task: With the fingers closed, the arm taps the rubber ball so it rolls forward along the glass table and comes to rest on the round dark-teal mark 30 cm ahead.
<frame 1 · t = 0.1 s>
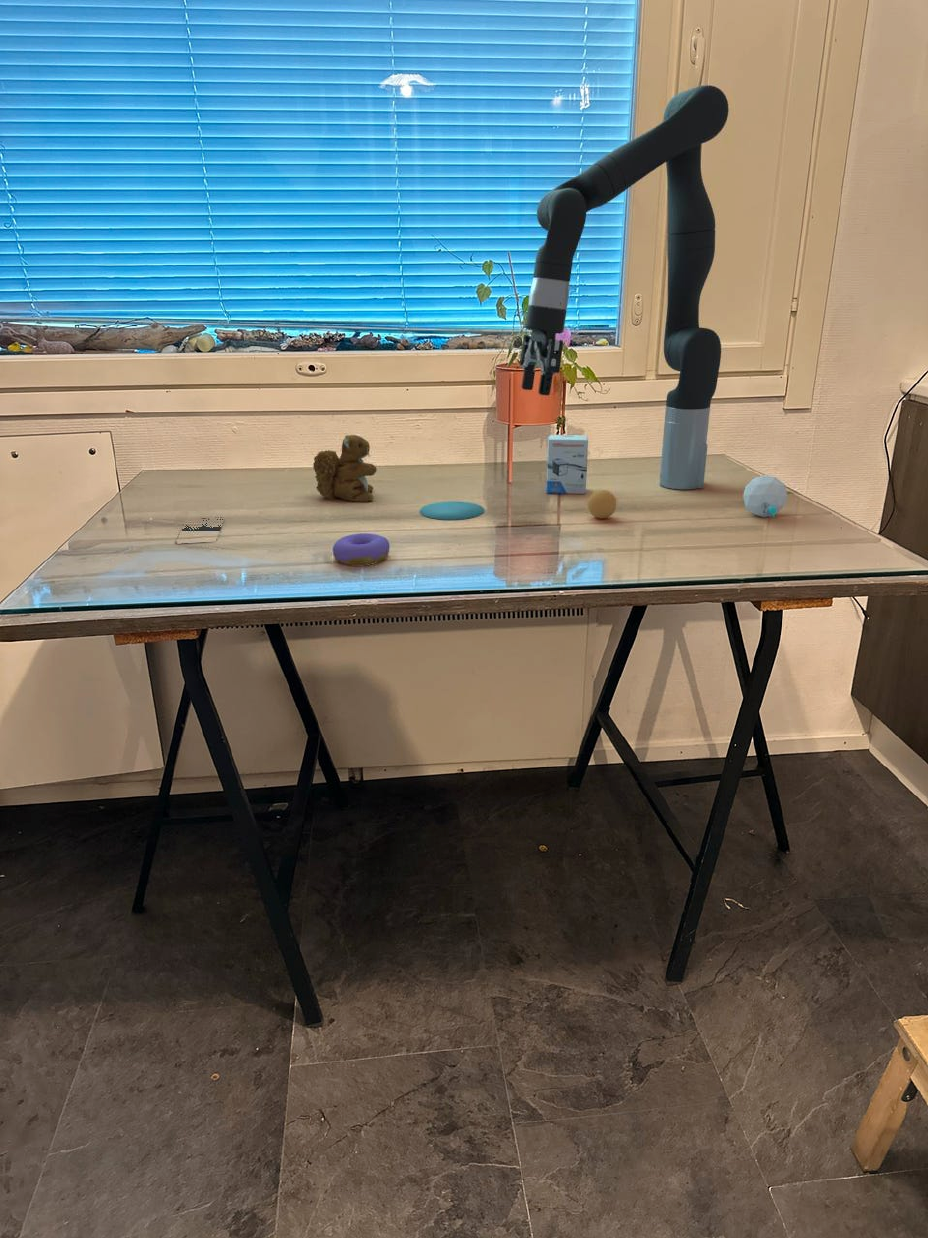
hand: (535, 392, 162), 22 cm above the table, fingers open, 8 cm apart
stuffed squirrel: (346, 497, 177), on the table
ink box: (565, 491, 178), on the table
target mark: (451, 510, 165), on the table
donut: (362, 560, 139), on the table
phone: (201, 534, 155), on the table
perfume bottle: (763, 519, 157), on the table
ball: (602, 504, 158), on the table
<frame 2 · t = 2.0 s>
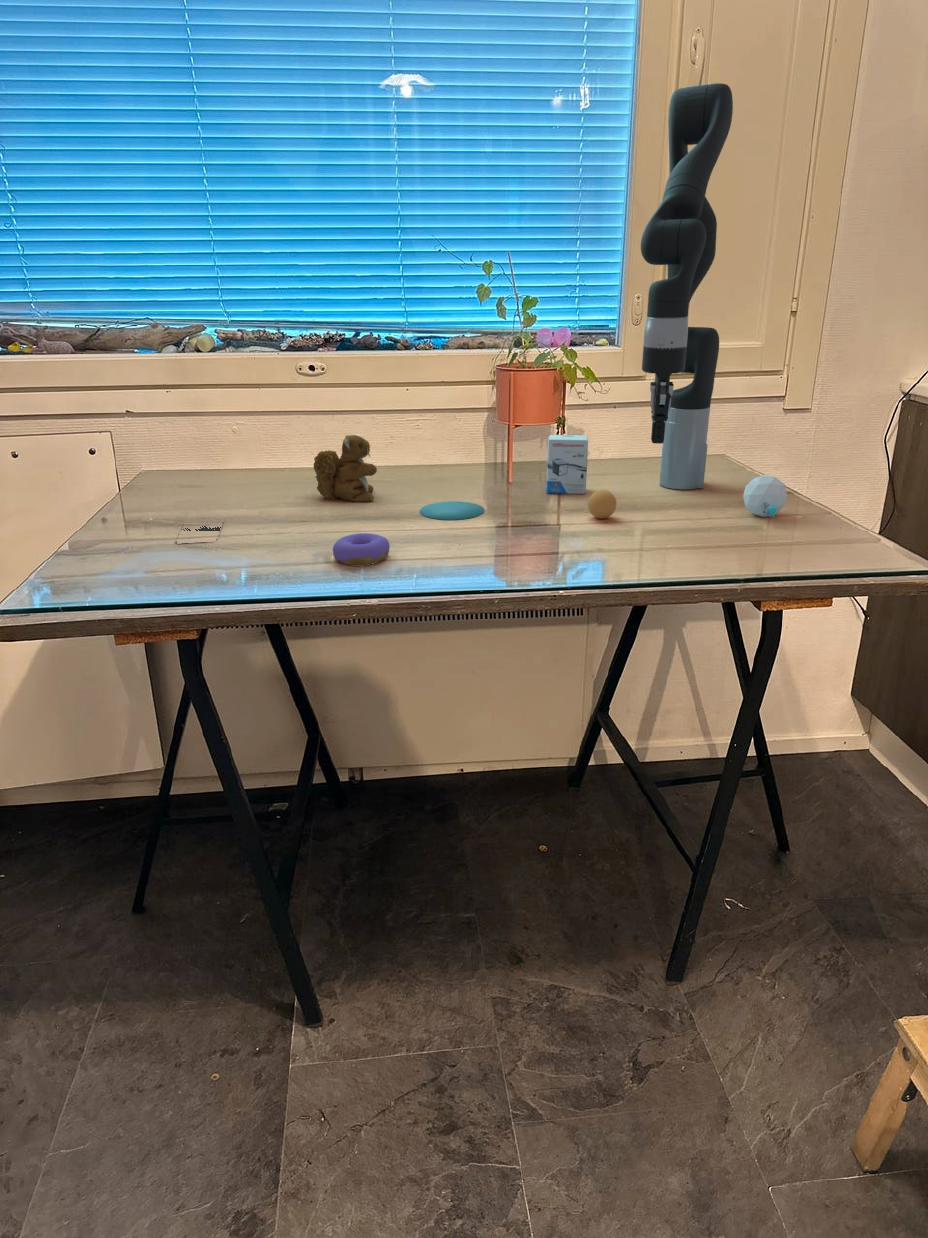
hand: (657, 441, 151), 15 cm above the table, fingers closed
nothing on the table moved.
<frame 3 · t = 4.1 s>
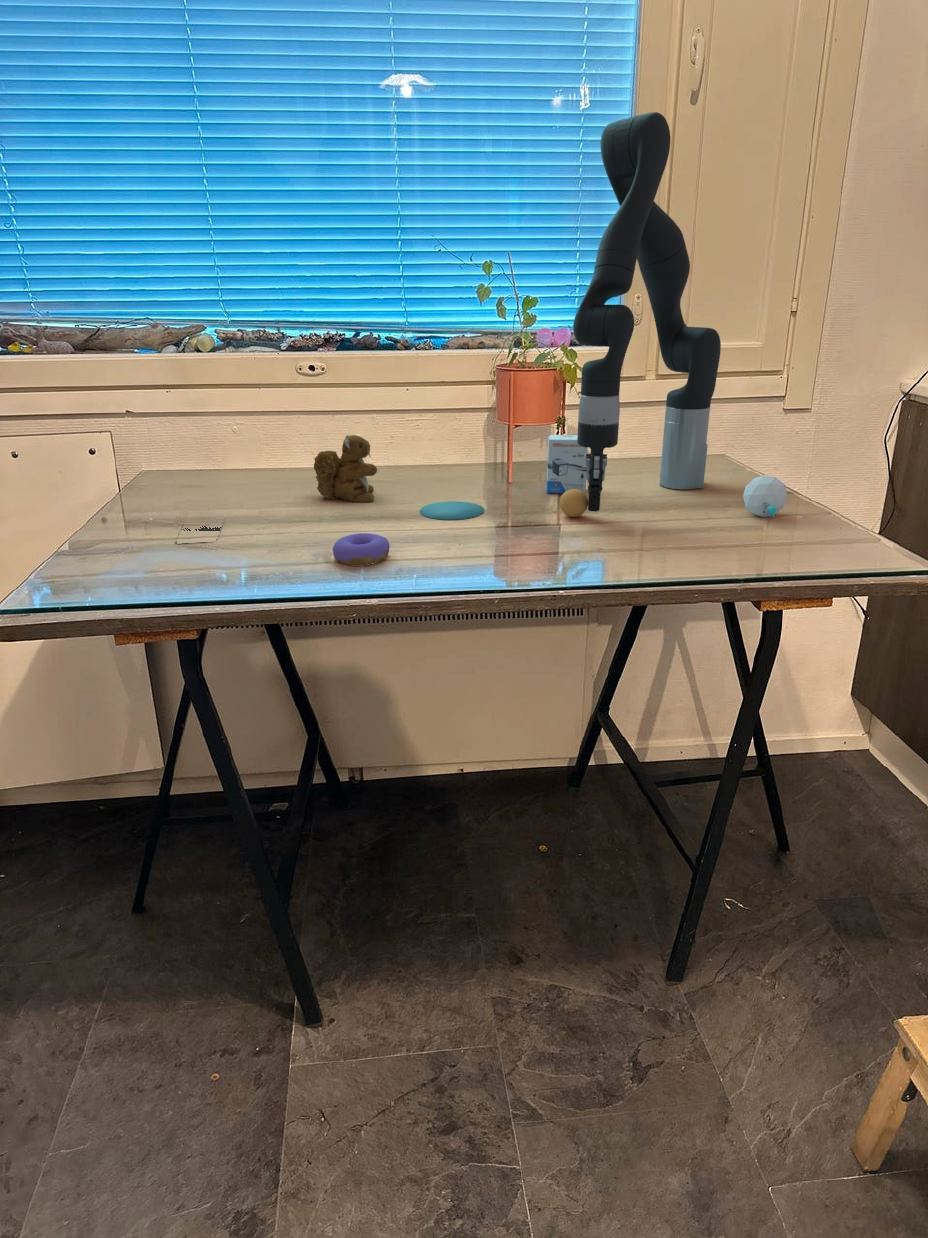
hand: (593, 510, 157), 2 cm above the table, fingers closed
ball: (573, 503, 159), on the table
everything else where it was.
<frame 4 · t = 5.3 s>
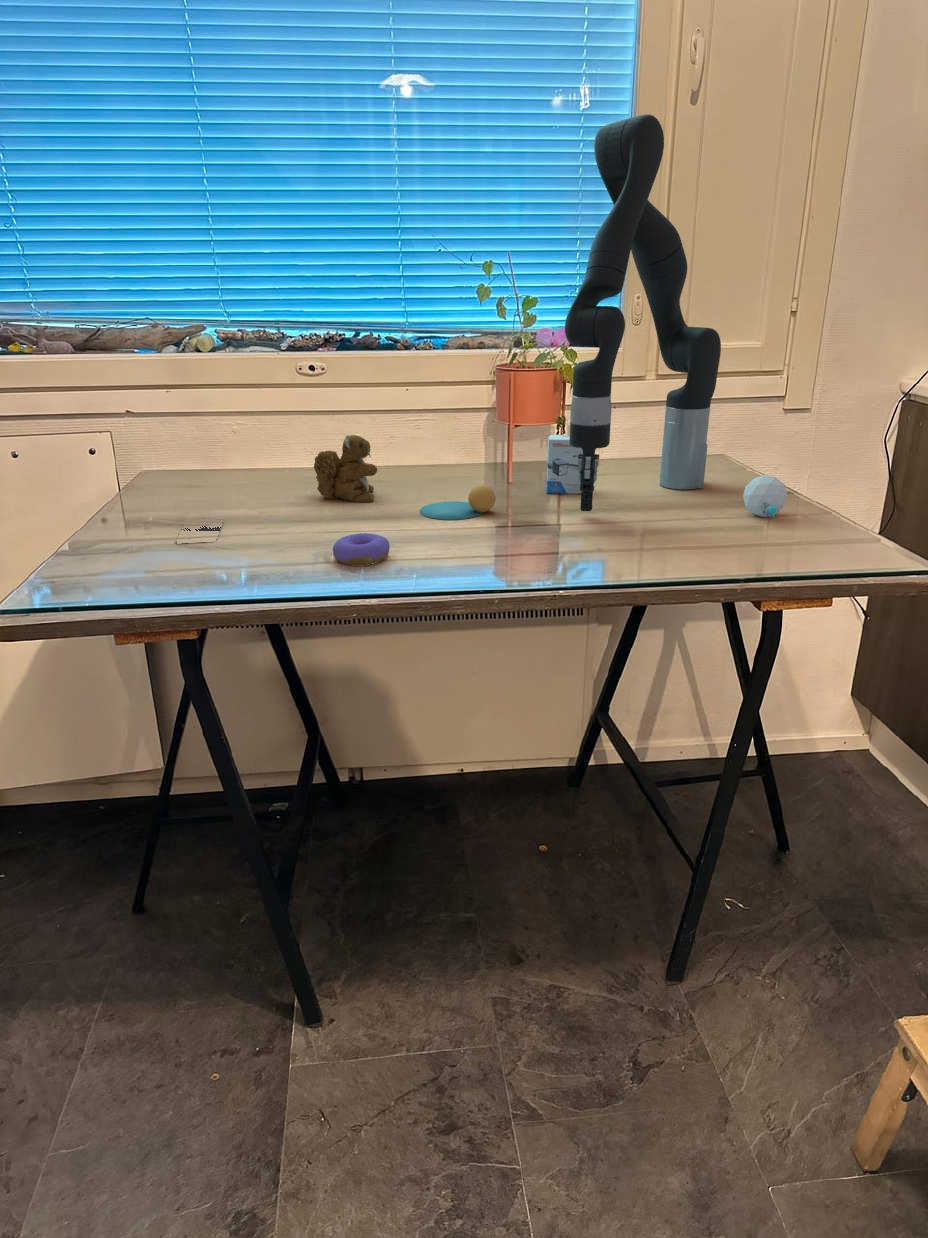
hand: (586, 509, 159), 2 cm above the table, fingers closed
ball: (481, 498, 163), on the table
everything else where it was.
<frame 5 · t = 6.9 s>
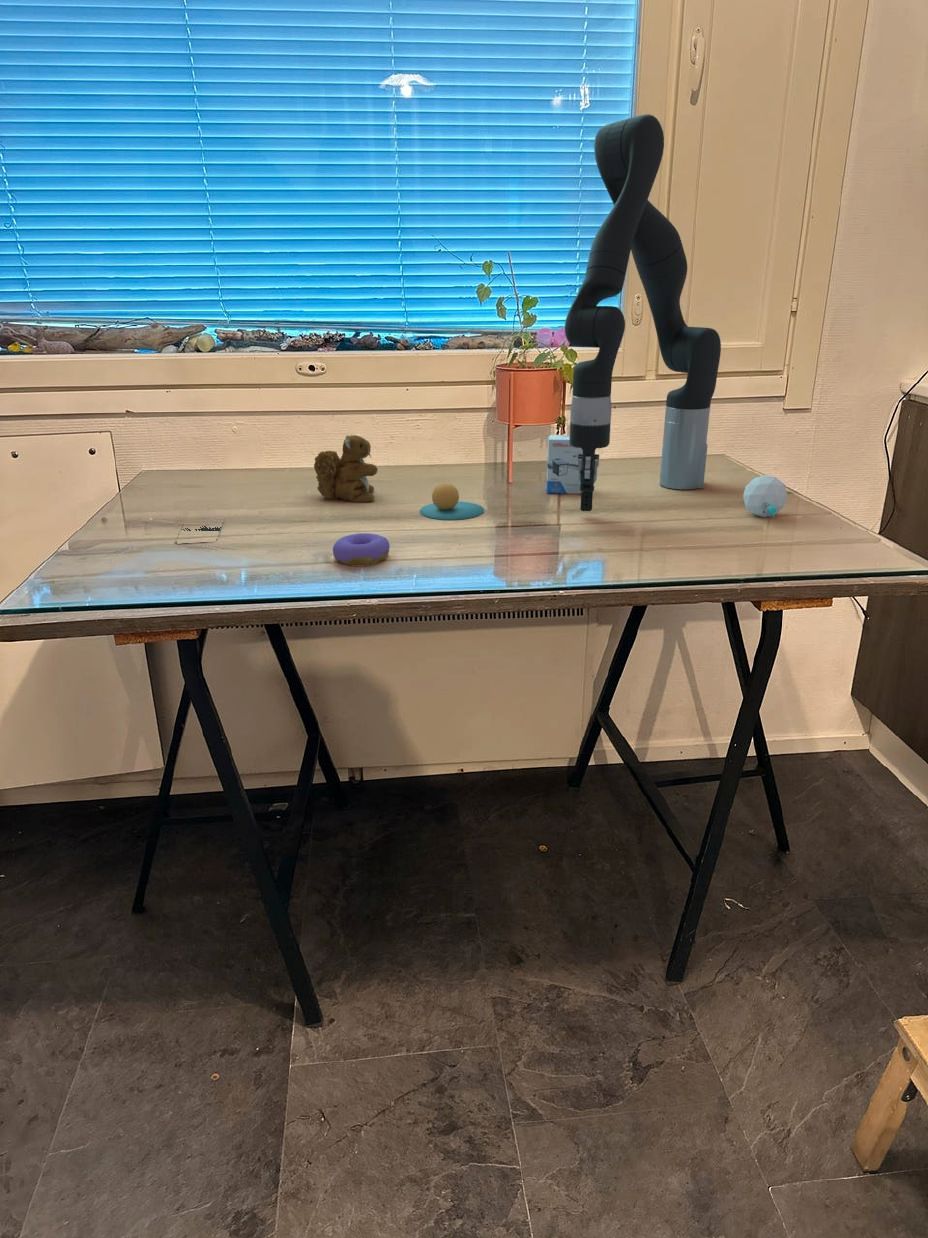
hand: (586, 509, 159), 2 cm above the table, fingers closed
ball: (445, 496, 164), on the table
everything else where it was.
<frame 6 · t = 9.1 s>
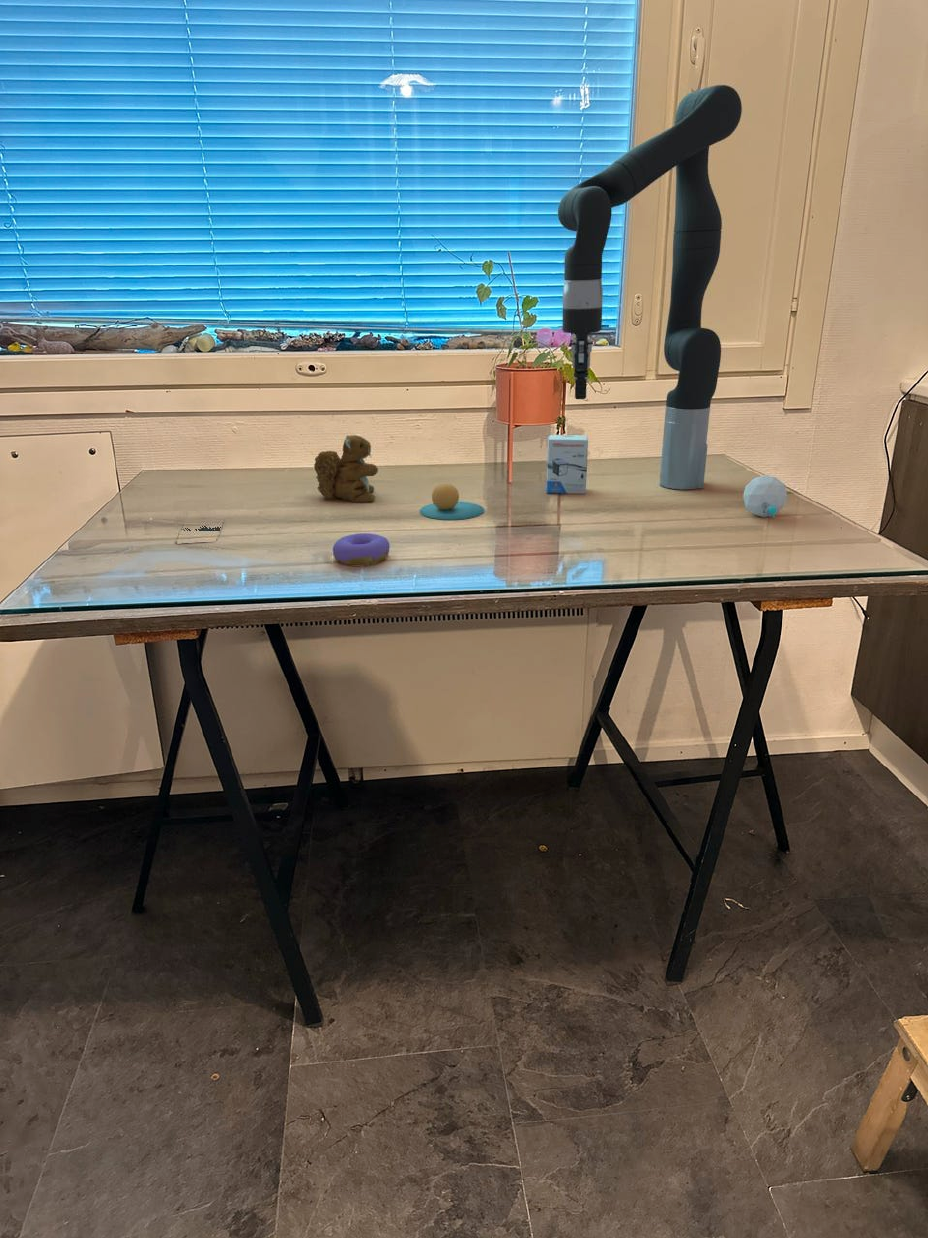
hand: (580, 398, 162), 21 cm above the table, fingers closed
nothing on the table moved.
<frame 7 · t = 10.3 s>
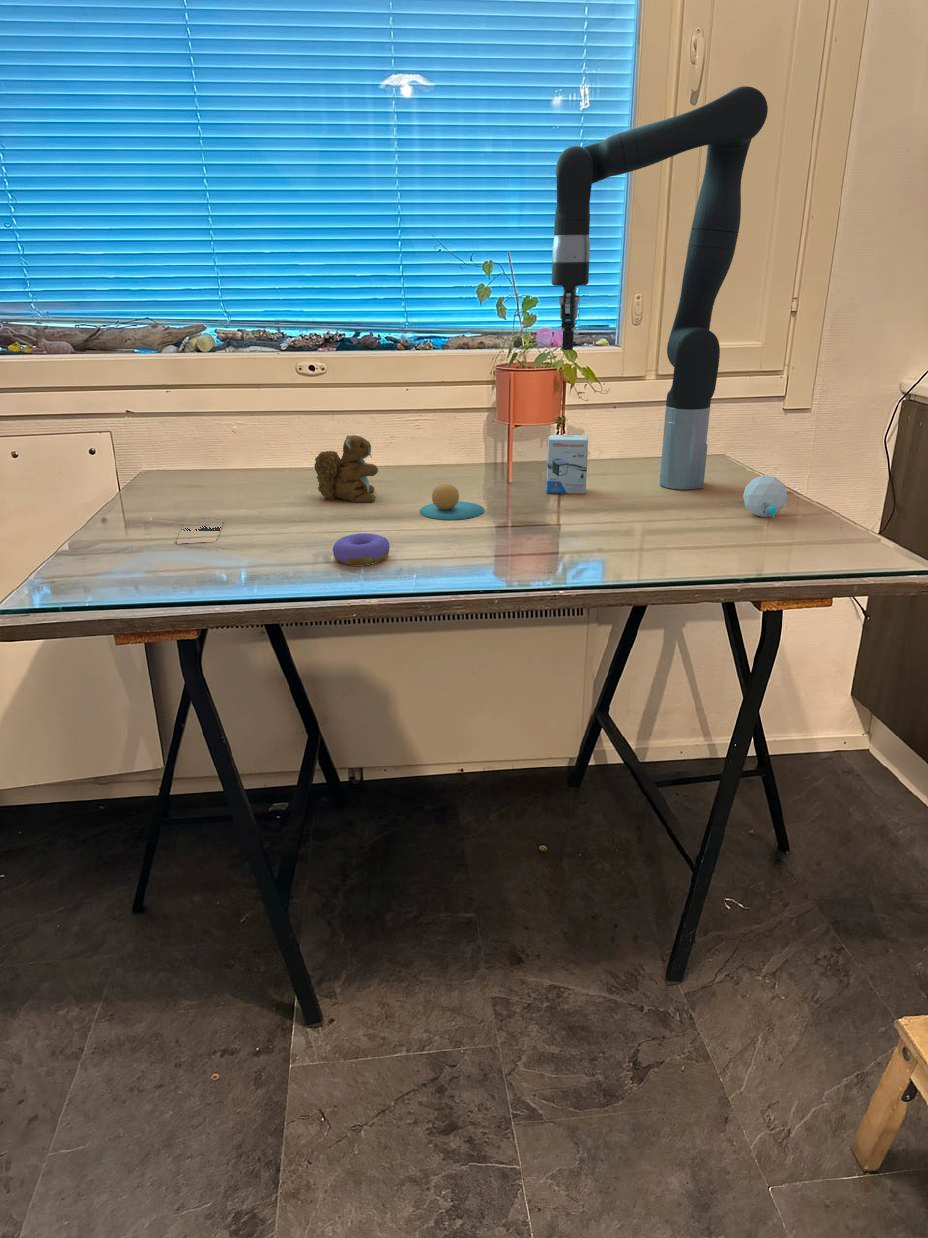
hand: (567, 349, 172), 29 cm above the table, fingers closed
nothing on the table moved.
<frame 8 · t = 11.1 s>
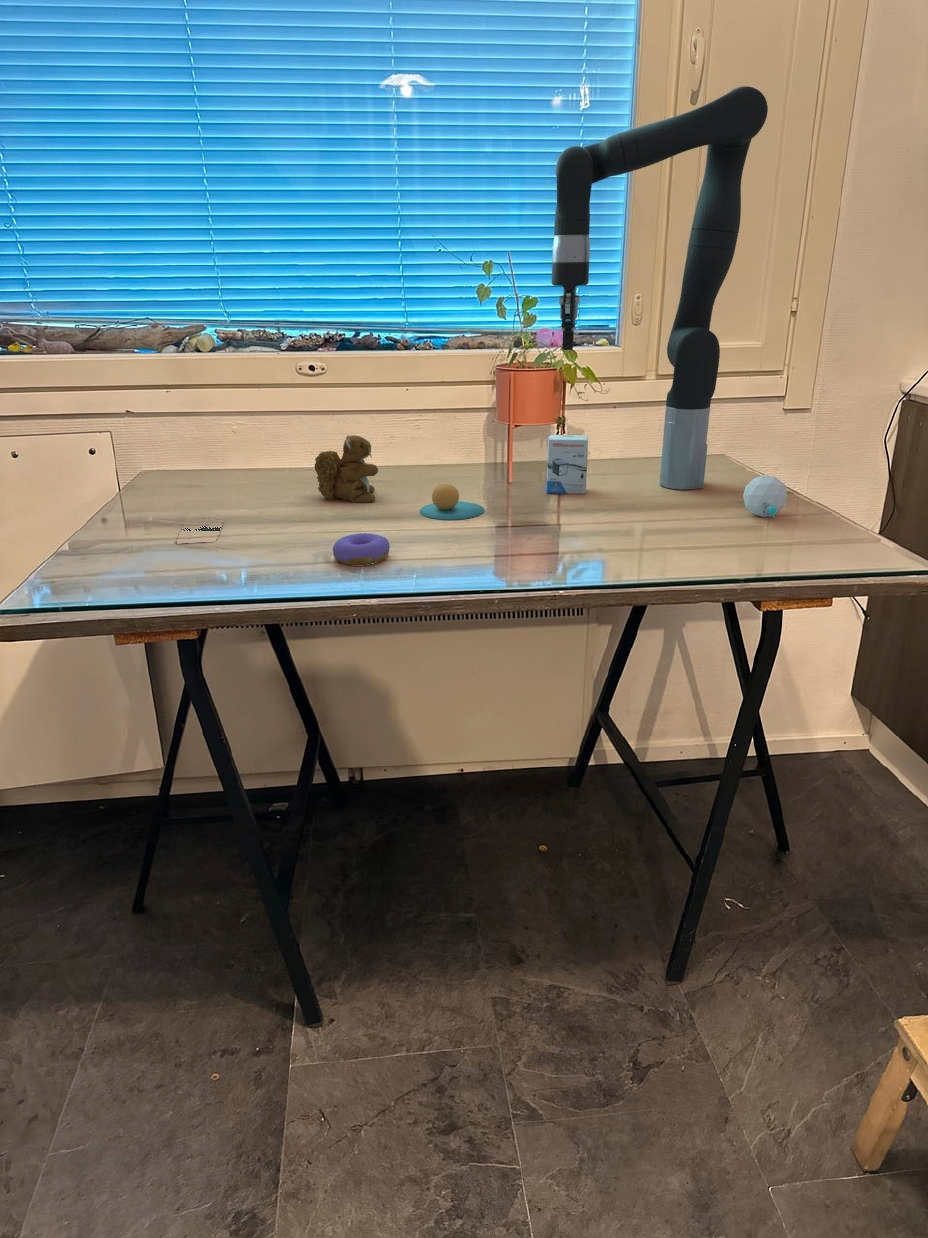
hand: (567, 349, 172), 29 cm above the table, fingers closed
nothing on the table moved.
at the end: ball 1.5 cm from the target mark (horizontally); ball at rest at the end (0.0 cm/s); ball moved 31.4 cm from its start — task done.
